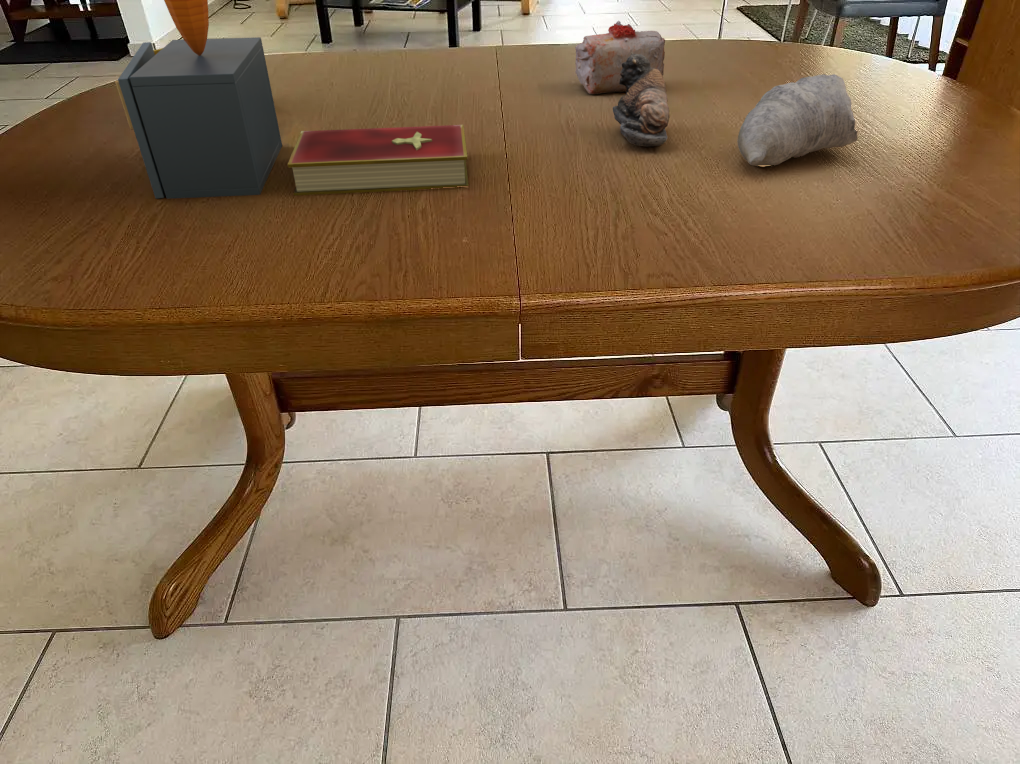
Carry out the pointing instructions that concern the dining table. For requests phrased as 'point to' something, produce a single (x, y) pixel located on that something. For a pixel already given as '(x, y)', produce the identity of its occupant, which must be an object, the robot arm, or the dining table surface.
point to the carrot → (191, 21)
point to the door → (134, 114)
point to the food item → (615, 56)
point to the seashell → (798, 121)
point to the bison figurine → (642, 103)
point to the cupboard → (209, 117)
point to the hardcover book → (379, 159)
